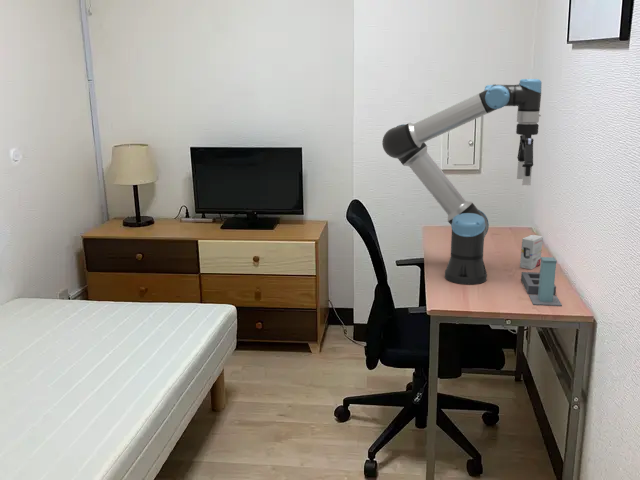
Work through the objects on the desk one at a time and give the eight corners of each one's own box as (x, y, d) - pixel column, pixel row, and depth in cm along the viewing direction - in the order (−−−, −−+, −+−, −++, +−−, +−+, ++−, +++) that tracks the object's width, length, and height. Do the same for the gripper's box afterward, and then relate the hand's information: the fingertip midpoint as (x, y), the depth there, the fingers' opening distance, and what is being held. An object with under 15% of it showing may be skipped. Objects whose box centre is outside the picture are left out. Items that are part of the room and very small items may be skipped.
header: (555, 295, 217) (556, 287, 216) (528, 294, 218) (528, 285, 217) (546, 280, 232) (547, 272, 231) (521, 279, 233) (521, 271, 232)
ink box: (529, 262, 254) (531, 234, 251) (541, 265, 251) (543, 236, 248) (519, 267, 248) (521, 238, 245) (531, 270, 245) (533, 240, 242)
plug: (553, 302, 209) (556, 261, 206) (539, 301, 210) (543, 260, 206) (550, 297, 213) (553, 257, 210) (537, 297, 214) (540, 257, 210)
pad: (561, 306, 207) (562, 305, 206) (533, 304, 208) (533, 303, 208) (556, 296, 215) (556, 295, 215) (528, 295, 216) (528, 294, 216)
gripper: (545, 126, 215) (540, 188, 221) (532, 120, 239) (528, 176, 244) (522, 126, 216) (517, 187, 222) (512, 120, 240) (508, 176, 246)
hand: (523, 182), depth 233 cm, fingers open, 13 cm apart
